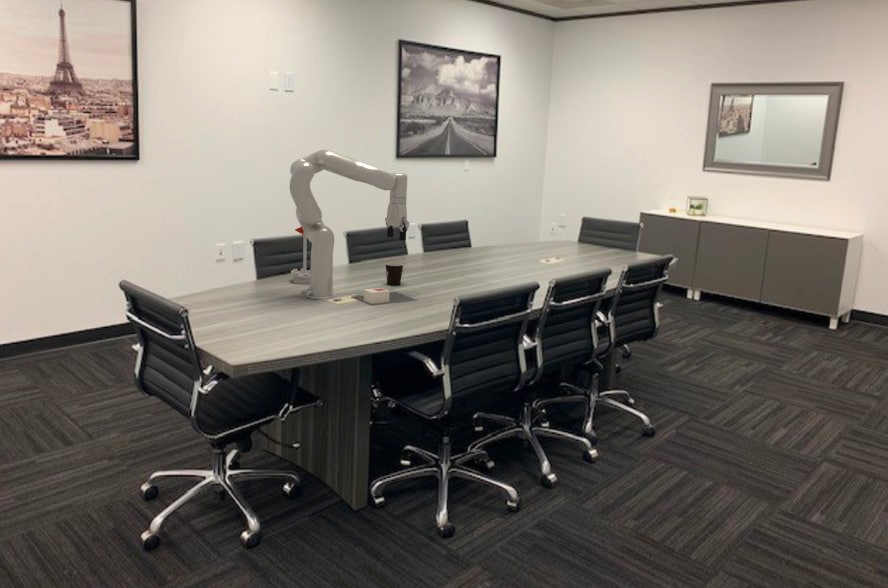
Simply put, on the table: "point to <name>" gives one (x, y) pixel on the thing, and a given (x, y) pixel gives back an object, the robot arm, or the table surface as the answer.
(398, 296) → the mat
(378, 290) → the card box
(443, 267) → the table surface
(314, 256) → the robot arm
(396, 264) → the coffee mug
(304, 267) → the flag stand
